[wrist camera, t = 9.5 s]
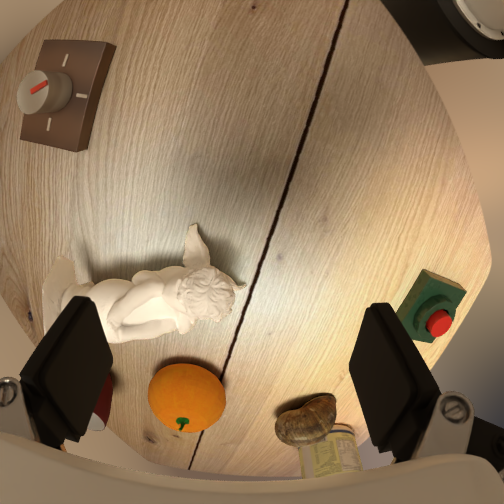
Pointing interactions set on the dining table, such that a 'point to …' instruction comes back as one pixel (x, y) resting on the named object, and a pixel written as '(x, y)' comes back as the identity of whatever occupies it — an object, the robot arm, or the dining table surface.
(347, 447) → the supplement tub
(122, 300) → the angel figurine
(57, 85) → the dial
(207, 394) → the fruit
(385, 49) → the dining table surface
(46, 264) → the dining table surface
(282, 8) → the dining table surface
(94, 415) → the mug
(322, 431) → the seashell
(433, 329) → the button
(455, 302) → the box
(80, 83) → the dial panel
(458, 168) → the dining table surface
